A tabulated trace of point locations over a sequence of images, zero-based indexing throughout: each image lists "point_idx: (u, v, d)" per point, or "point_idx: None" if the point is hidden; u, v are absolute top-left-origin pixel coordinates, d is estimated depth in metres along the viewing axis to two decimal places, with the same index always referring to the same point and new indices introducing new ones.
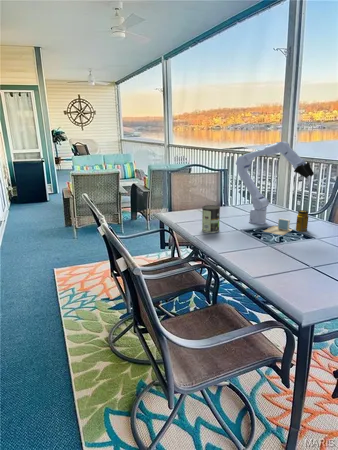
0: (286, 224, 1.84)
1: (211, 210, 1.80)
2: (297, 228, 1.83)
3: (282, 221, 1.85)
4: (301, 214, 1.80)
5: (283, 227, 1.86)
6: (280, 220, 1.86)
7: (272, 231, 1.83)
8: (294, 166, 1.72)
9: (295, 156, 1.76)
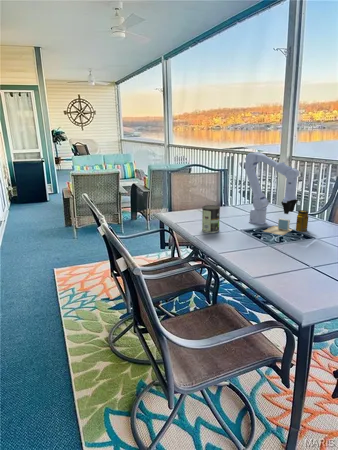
0: (286, 224, 1.84)
1: (211, 210, 1.80)
2: (297, 228, 1.83)
3: (282, 221, 1.85)
4: (300, 214, 1.80)
5: (283, 227, 1.86)
6: (280, 220, 1.86)
7: (272, 231, 1.83)
8: (284, 200, 1.81)
9: (292, 191, 1.82)
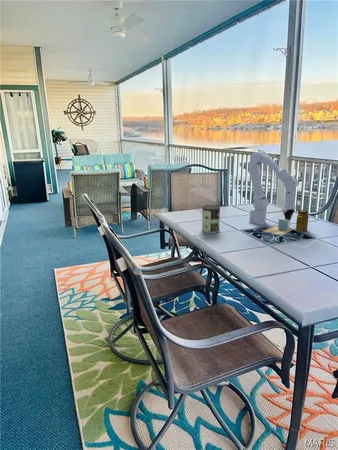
0: (286, 224, 1.84)
1: (211, 210, 1.80)
2: (297, 228, 1.83)
3: (282, 221, 1.85)
4: (300, 214, 1.80)
5: (283, 227, 1.86)
6: (280, 220, 1.86)
7: (272, 231, 1.83)
8: (283, 210, 1.82)
9: (292, 201, 1.83)
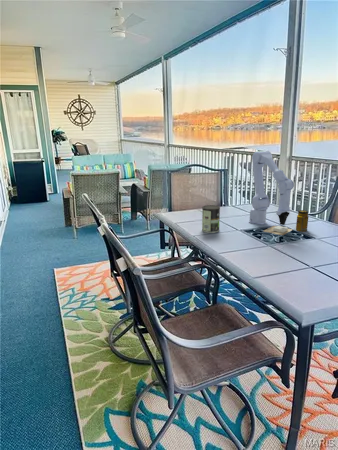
0: None
1: (211, 210, 1.80)
2: (297, 228, 1.83)
3: None
4: (300, 214, 1.80)
5: None
6: None
7: (272, 231, 1.83)
8: (277, 212, 1.77)
9: (286, 203, 1.78)
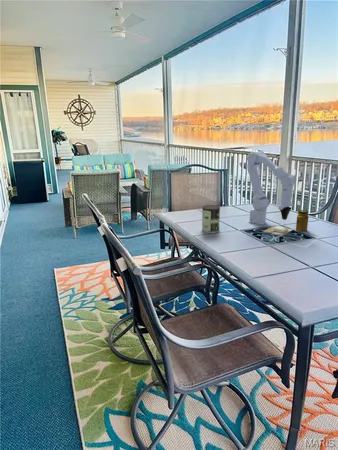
0: None
1: (211, 210, 1.80)
2: (297, 228, 1.83)
3: None
4: (300, 214, 1.80)
5: None
6: None
7: (272, 231, 1.83)
8: (279, 207, 1.80)
9: (288, 198, 1.81)
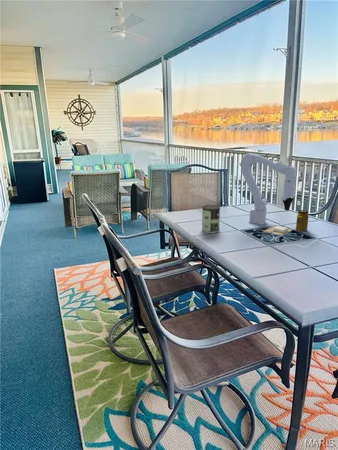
0: None
1: (211, 210, 1.80)
2: (297, 228, 1.83)
3: None
4: (300, 214, 1.80)
5: None
6: None
7: (272, 231, 1.83)
8: (282, 198, 1.85)
9: (291, 189, 1.86)
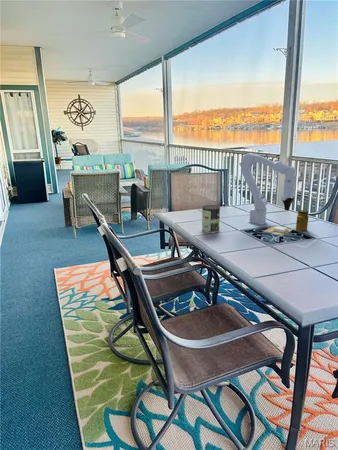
0: None
1: (211, 210, 1.80)
2: (297, 228, 1.83)
3: None
4: (300, 214, 1.80)
5: None
6: None
7: (272, 231, 1.83)
8: (282, 198, 1.85)
9: (291, 189, 1.86)
